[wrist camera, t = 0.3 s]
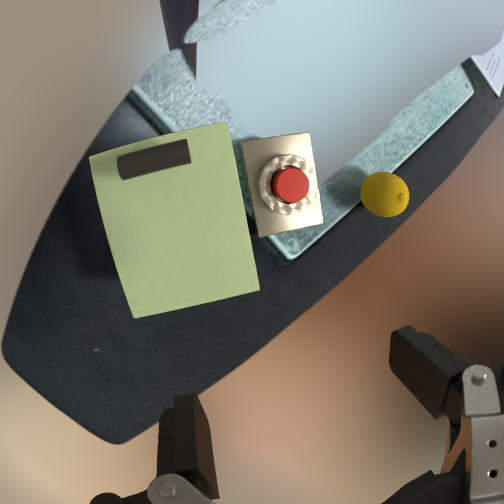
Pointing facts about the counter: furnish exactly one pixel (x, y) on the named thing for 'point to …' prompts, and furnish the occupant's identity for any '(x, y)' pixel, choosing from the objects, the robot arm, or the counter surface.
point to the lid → (176, 219)
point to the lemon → (384, 194)
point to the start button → (291, 185)
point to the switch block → (261, 178)
